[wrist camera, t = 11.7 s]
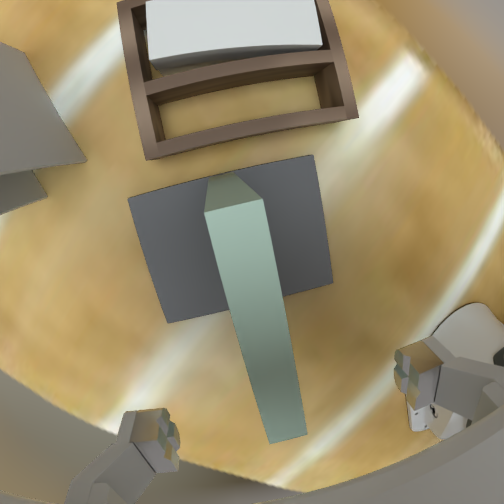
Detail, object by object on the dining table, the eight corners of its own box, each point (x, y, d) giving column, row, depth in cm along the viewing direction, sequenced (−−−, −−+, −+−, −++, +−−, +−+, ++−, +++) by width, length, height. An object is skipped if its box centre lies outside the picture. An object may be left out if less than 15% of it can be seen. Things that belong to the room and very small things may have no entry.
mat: (331, 280, 31) (333, 283, 30) (168, 320, 30) (167, 323, 29) (311, 154, 27) (313, 154, 26) (129, 197, 26) (127, 198, 25)
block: (232, 171, 26) (262, 198, 11) (262, 302, 30) (307, 434, 15) (208, 177, 26) (204, 212, 11) (240, 307, 30) (269, 444, 14)
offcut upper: (310, 55, 22) (322, 44, 19) (156, 70, 21) (149, 60, 18) (301, 3, 20) (311, -11, 17) (152, 16, 19) (145, 1, 16)
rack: (334, 122, 26) (359, 117, 21) (157, 159, 25) (145, 160, 21) (302, -5, 22) (318, -29, 17) (130, 24, 21) (116, 2, 17)
